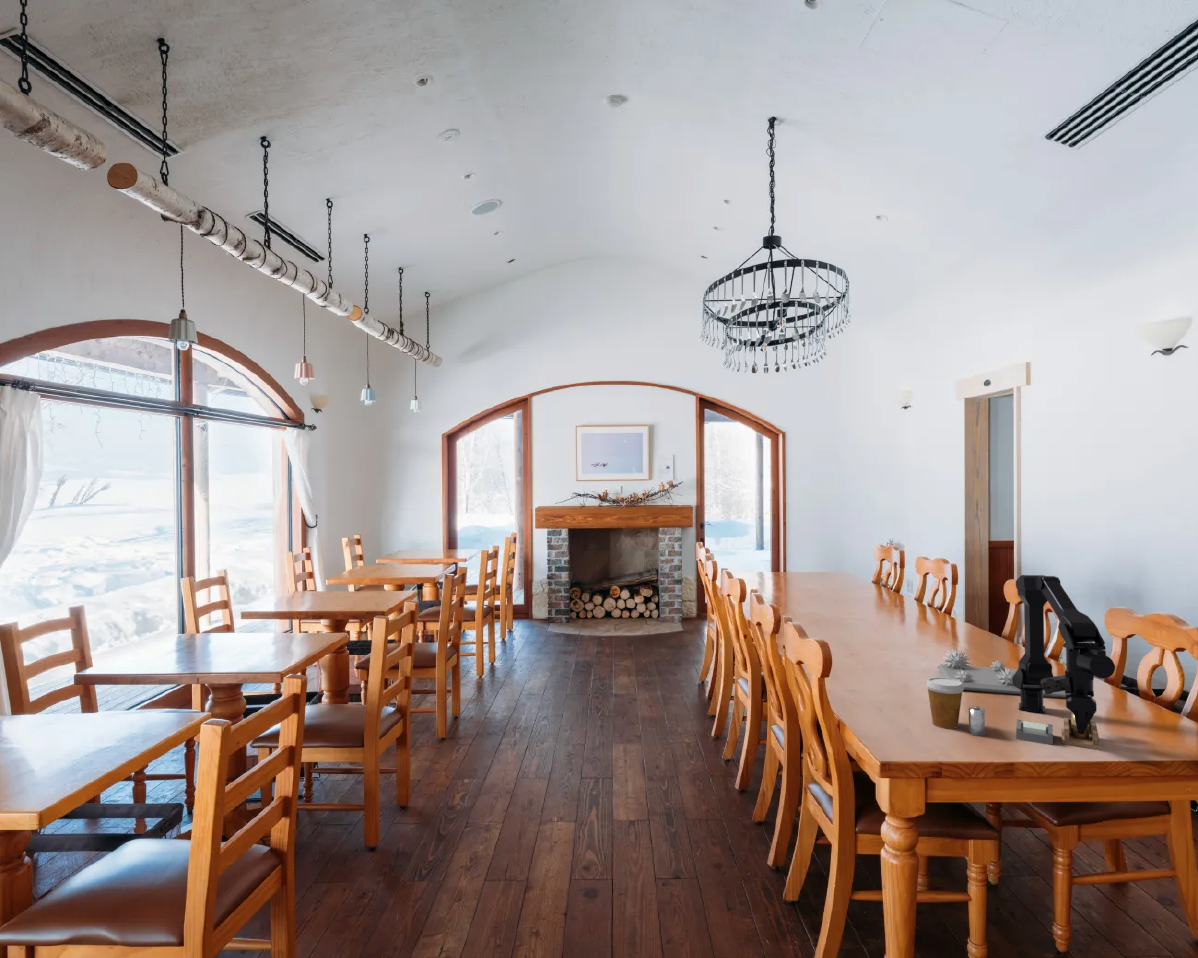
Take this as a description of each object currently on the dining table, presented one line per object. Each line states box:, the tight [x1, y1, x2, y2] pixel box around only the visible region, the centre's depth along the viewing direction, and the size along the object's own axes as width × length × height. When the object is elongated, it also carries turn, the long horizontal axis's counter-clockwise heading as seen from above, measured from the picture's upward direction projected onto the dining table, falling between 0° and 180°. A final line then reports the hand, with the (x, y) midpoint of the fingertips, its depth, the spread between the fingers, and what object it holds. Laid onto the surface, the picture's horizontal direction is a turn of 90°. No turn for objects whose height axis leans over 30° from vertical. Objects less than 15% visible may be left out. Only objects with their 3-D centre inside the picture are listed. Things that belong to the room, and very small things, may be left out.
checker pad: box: [1022, 720, 1047, 734], centre depth 182 cm, size 5×5×1 cm
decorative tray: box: [936, 648, 1069, 699], centre depth 231 cm, size 35×26×10 cm
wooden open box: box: [1061, 717, 1102, 751], centre depth 180 cm, size 10×8×4 cm
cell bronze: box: [1070, 711, 1089, 740], centre depth 180 cm, size 4×4×7 cm
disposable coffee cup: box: [925, 676, 965, 730], centre depth 192 cm, size 10×10×12 cm
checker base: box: [1015, 718, 1054, 746], centre depth 182 cm, size 8×8×3 cm
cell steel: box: [968, 705, 986, 737], centre depth 185 cm, size 4×4×7 cm
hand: (1080, 729), depth 179 cm, fingers open, 8 cm apart
